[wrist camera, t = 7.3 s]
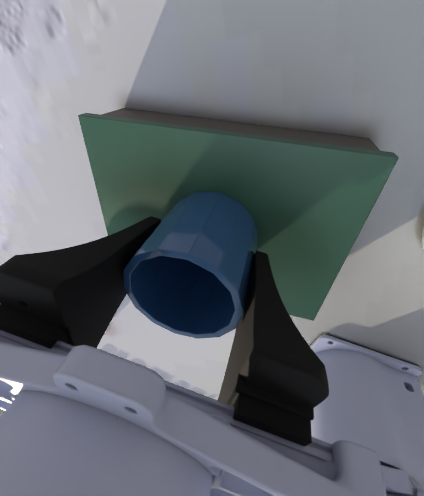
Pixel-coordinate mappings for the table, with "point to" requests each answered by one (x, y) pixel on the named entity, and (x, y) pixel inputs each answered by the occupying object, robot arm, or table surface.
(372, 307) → the table surface
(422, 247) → the ceramic mug
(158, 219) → the robot arm
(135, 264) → the blue cup
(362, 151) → the flat green board
